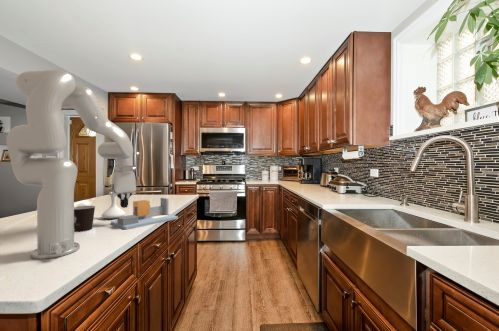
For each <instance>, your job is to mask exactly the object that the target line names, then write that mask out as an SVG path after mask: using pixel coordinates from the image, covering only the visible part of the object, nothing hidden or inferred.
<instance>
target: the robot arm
mask: <svg viewBox="0 0 499 331" xmlns="http://www.w3.org/2000/svg"><path fill="white" fill-rule="evenodd" d="M15 82H16V86H17V88H18V90H19V91H20V92H21V93H22V94H23V95H25V97H27V100H26V104H25V112H26V119H27V124H20V125H16V126H14V127H12V128H11V129H10V130H9V132H8V134H7V135H6V148H7V151H8V155H9V156H8V157H9V159H10V163H11V167H12V172H13V175H14V176H15V178H16V180H17V181H18V182H20V183H21V184H23V185H25V186H36V187H42V188H41V190H40V192H39V193H38V196H37V200H36V214H37V215H36V216H37V217H36V223H37V224H36V225H37V226H36V229H37V230H36V231H37V233H36V236H37V238H36V242H37V244H36V246H37V247H36V248H35V249H34V250H32V251H31V252H30V257H31V258H32V259H39V260H40V259H42V260H43V259H46V260H47V259H53V258H58V257H62V256H67V255H70V254H72V253H75V252H76V251H78V250H79V249H80V247H81V246H80V245H81V244H80V243H78V242H75V229H74V207H75V201H74V200H75V187H76V181H77V177H78V167H77V165H76V163H75V162H73V161H72V160H70V159H68V158H66V157H60V156H59V157H56V156H54V157H53V156H52V157H51V156H47V157H46V156H45V157H43V155H46V154H50V155H51V154H58V153H61V152H63V151H64V150H66V147H67V137H66V131H65V128H64V121H63V117H62V116H63V115H62V109H64V110H67V109H69V110H70V109H72V110H75V111H76V113H77V115H78V116H79V118H80V119H81V121H82V123H83V124H84V126H85V128H86V129H88V130H89V131H92V132H94V133H97V134H99V135H102V136H105V137H107V138H109V139H111V140H112V141H111V142H109V141H108V142H106V141H105V142H103V143H101V144H100V145H99V146H98V147H97V153H98V155H99V156H100V157H101V158H102V159H107V160H115V162H114V163H115V164H114V165H115V167H114V168H115V170H114V172H113V173H112V174H113V176H112V183H111V184H110V185H111V186H110V187H111V188H110V191H111V192H112V196H117V198H118V199H119V200H120V201H119V204H120V208H123V209H124V208H128V205H129V200H130V198H131V196H133V195H136V194H137V192H136V191H137V181H136V180H137V179H136V174H135V172H134V170H136V167H135V166H134V165H133V164H134V163H133V162H134V158H133V157H134V146H133V144H132V141H131V140H130V137H129V136H128V134H127V133H126V132H125V131H124V130H123V129H122V128H120V126H118V125H117V124H115V123H113V122H112V121H111V120H109V119H108V117H107V115H106V113H105V110H104V109H103V108H102V106H101V104H100V102H99V101H98V98H97V96H96V95H95V93H94V91H93V90H92V89H91V88H90V87H88V86H87V85H86V86H85V85H77V84H76V80H75V77H74V76H73V74H71V73H70V72H67V71H65V70H60V69H59V70H58V69H57V70H56V69H48V70H34V71H33V70H31V71H24V72H21V73H20V74H19V75H17V76H16V80H15ZM116 193H118V194H116Z"/></svg>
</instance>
